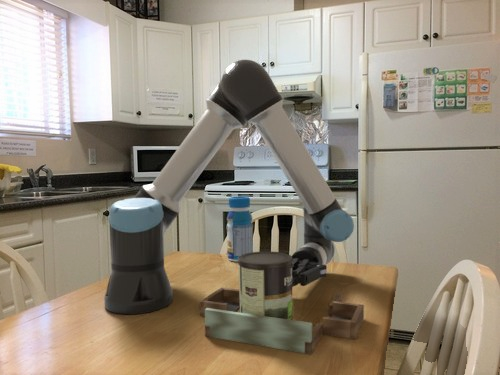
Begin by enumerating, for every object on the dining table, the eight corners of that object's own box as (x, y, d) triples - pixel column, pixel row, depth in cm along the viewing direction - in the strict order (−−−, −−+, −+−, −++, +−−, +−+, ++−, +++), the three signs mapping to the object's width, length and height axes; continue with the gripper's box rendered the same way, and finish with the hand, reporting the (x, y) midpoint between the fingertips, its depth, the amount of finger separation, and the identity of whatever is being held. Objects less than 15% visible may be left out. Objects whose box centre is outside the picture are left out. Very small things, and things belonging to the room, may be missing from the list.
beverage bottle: (244, 263, 130) (243, 199, 129) (221, 260, 135) (220, 198, 133) (258, 257, 138) (257, 196, 136) (236, 255, 142) (235, 195, 141)
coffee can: (294, 320, 85) (294, 251, 84) (291, 343, 75) (290, 264, 74) (244, 318, 87) (243, 250, 86) (234, 339, 76) (233, 263, 75)
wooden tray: (177, 331, 81) (176, 305, 80) (236, 289, 105) (235, 270, 105) (347, 360, 68) (347, 330, 68) (368, 306, 92) (369, 283, 92)
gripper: (334, 278, 104) (309, 311, 83) (283, 273, 109) (247, 302, 88) (334, 248, 104) (309, 273, 82) (283, 244, 109) (247, 267, 87)
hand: (277, 288), depth 85 cm, fingers closed
